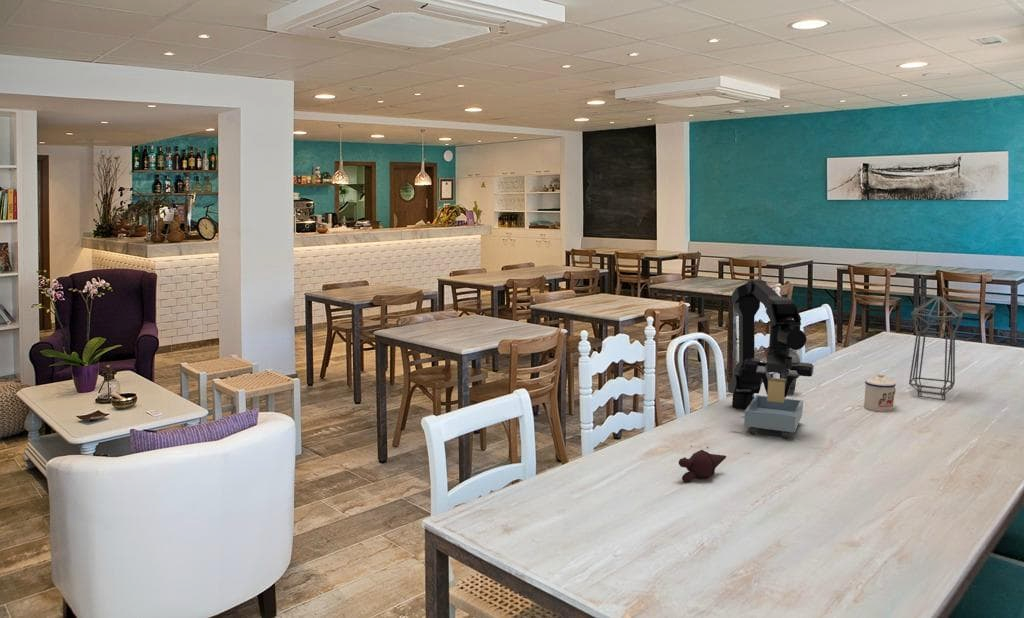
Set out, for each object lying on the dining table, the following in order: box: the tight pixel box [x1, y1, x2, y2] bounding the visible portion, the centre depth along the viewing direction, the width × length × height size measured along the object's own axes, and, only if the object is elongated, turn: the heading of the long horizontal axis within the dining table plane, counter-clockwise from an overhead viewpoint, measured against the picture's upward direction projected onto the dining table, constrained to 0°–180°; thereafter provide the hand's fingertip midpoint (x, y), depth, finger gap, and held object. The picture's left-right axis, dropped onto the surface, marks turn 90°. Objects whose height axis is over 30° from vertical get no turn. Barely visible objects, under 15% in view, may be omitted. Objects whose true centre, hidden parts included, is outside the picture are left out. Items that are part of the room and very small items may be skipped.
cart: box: [743, 394, 804, 439], centre depth 231 cm, size 14×20×7 cm
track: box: [724, 414, 806, 442], centre depth 233 cm, size 20×22×1 cm
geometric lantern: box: [908, 296, 964, 401], centre depth 273 cm, size 16×16×35 cm
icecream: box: [678, 449, 727, 483], centre depth 195 cm, size 7×7×15 cm
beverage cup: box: [779, 349, 801, 396], centre depth 276 cm, size 7×7×20 cm
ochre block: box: [766, 377, 787, 403], centre depth 230 cm, size 4×4×6 cm
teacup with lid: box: [863, 372, 897, 413], centre depth 259 cm, size 12×9×12 cm
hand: (776, 395), depth 230 cm, fingers closed on ochre block, 4 cm apart
